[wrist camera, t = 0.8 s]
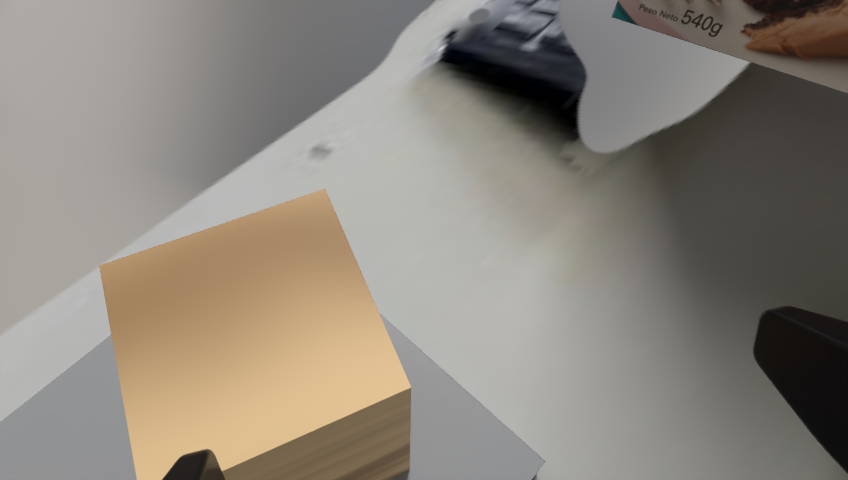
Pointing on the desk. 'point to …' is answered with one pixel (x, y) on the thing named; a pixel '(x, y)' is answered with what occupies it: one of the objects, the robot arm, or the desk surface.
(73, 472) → the baseplate
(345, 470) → the oak pillar
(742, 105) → the desk surface
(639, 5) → the cake mix box
